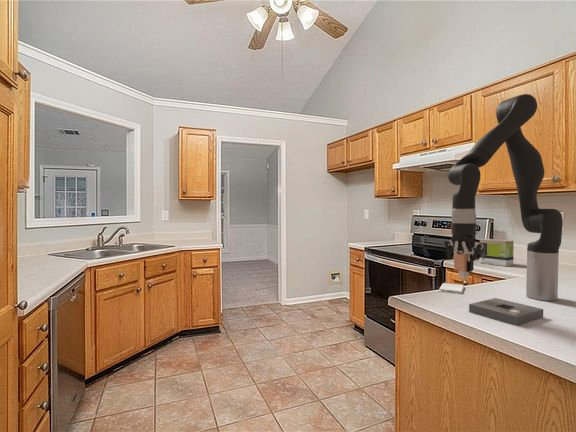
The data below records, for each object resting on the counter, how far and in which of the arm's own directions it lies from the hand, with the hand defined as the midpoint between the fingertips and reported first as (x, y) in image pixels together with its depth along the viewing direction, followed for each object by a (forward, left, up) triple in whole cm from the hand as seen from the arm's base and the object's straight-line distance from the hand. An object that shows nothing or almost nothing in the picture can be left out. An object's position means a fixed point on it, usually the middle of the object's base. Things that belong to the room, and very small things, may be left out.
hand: (463, 270), depth 114 cm
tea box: (-95, -40, -12) cm, 104 cm away
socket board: (0, +14, -11) cm, 18 cm away
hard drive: (-14, -14, -12) cm, 23 cm away
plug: (0, 0, -2) cm, 2 cm away
